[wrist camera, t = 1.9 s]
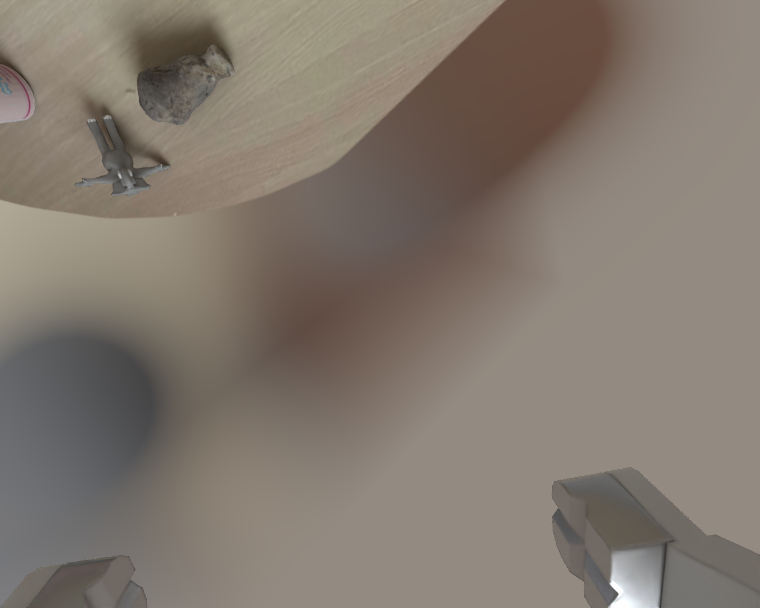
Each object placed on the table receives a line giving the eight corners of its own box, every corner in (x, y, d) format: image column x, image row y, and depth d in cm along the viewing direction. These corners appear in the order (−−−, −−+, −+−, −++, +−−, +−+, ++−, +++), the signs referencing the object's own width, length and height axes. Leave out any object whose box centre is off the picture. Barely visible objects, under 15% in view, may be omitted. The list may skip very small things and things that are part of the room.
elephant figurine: (145, 100, 44) (178, 177, 46) (148, 124, 50) (178, 193, 51) (39, 113, 40) (79, 198, 41) (54, 138, 45) (89, 213, 46)
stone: (232, 40, 42) (147, 3, 36) (245, 76, 40) (157, 42, 34) (203, 114, 48) (127, 92, 42) (213, 147, 46) (135, 129, 41)
